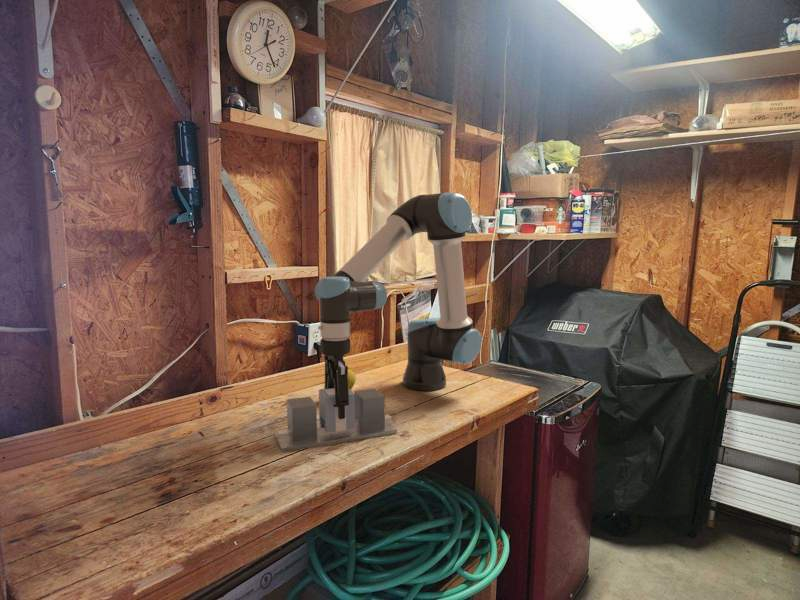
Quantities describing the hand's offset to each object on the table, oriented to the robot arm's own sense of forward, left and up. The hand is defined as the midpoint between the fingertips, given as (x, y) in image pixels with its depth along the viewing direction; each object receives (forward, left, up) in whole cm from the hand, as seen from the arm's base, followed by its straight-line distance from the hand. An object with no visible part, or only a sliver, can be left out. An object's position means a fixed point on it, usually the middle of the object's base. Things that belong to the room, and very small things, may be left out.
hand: (336, 424), depth 129 cm
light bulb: (-10, -26, -3) cm, 28 cm away
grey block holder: (0, 0, -3) cm, 3 cm away
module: (0, 0, 0) cm, 0 cm away
